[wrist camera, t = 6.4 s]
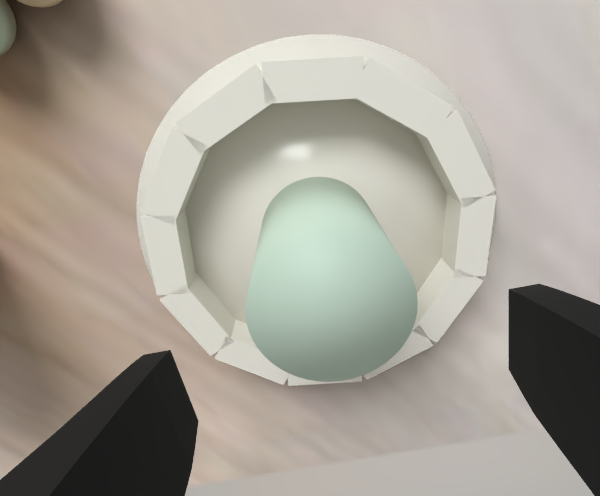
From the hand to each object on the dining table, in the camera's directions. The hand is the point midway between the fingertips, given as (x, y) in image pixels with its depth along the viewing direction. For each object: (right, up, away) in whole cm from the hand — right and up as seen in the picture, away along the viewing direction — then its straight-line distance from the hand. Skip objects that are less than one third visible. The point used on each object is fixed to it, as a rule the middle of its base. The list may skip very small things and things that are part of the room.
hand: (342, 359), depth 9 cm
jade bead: (0, +3, +7) cm, 8 cm away
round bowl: (0, +3, +8) cm, 8 cm away
